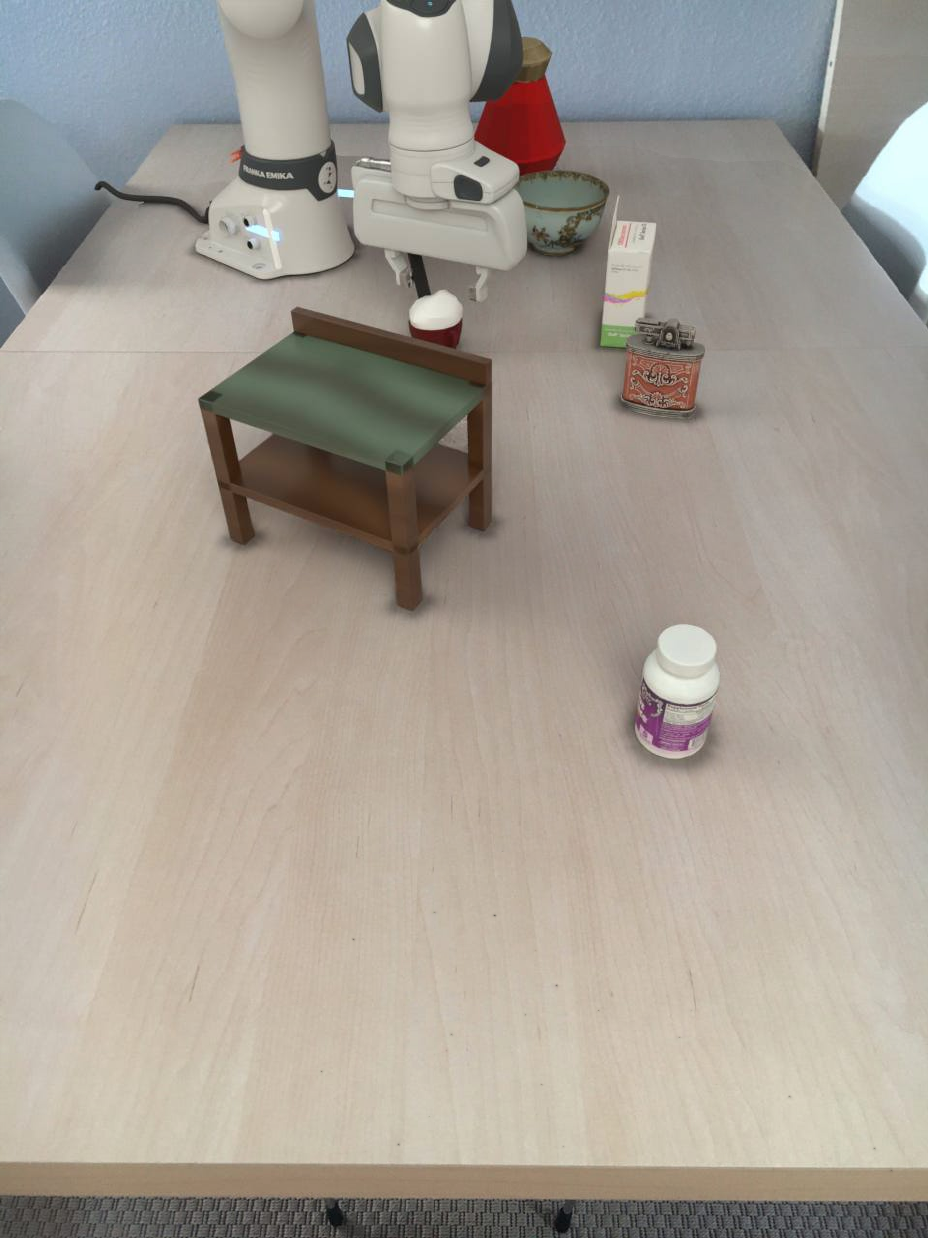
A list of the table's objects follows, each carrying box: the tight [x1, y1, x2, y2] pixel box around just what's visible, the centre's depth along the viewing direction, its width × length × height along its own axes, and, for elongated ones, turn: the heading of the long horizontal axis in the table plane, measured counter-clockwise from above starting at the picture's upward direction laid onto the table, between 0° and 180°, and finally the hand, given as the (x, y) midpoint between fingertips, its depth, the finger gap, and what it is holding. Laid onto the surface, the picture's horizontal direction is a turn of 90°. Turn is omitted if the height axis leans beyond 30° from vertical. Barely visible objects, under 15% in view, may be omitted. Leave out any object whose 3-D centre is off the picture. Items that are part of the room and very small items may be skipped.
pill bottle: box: [634, 623, 721, 760], centre depth 71 cm, size 5×5×10 cm
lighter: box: [619, 317, 706, 419], centre depth 103 cm, size 8×3×10 cm, turn 71°
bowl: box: [513, 170, 610, 257], centre depth 134 cm, size 14×13×8 cm
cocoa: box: [407, 253, 464, 349], centre depth 113 cm, size 10×6×12 cm, turn 9°
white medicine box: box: [599, 194, 657, 349], centre depth 114 cm, size 9×5×15 cm, turn 168°
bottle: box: [474, 36, 567, 177], centre depth 146 cm, size 16×14×20 cm
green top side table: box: [197, 306, 493, 612], centre depth 86 cm, size 14×20×17 cm
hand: (441, 292), depth 112 cm, fingers open, 8 cm apart
